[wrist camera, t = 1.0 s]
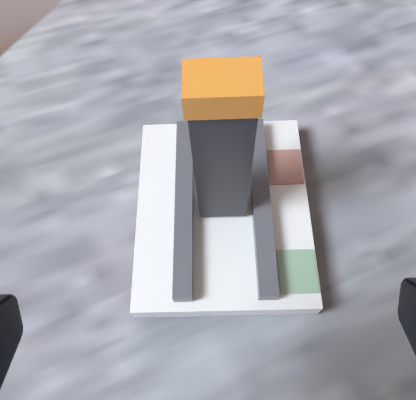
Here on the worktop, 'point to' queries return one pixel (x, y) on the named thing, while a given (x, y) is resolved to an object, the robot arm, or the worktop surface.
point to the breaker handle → (222, 128)
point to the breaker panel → (223, 233)
